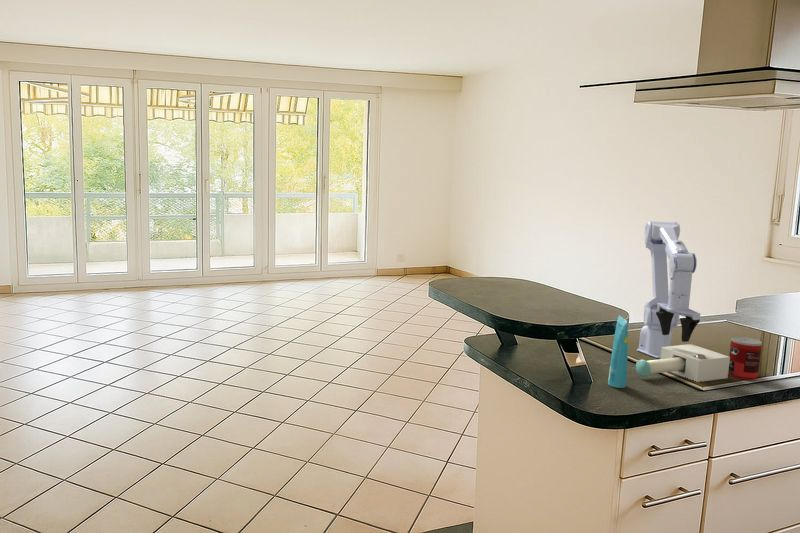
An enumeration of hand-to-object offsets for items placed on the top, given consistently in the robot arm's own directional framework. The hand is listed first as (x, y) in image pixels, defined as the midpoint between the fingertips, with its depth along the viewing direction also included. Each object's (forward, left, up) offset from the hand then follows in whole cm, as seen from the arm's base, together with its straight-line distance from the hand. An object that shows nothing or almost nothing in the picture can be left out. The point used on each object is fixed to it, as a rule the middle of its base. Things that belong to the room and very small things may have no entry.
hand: (675, 338), depth 185 cm
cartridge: (+4, -7, -9) cm, 12 cm away
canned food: (+11, +16, -10) cm, 22 cm away
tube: (+6, -26, -10) cm, 29 cm away
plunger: (+9, +1, -7) cm, 11 cm away
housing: (+4, +4, -10) cm, 11 cm away
